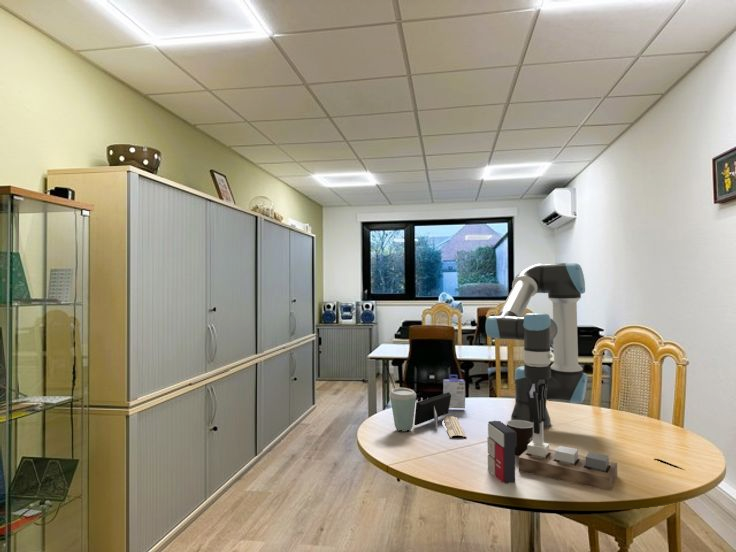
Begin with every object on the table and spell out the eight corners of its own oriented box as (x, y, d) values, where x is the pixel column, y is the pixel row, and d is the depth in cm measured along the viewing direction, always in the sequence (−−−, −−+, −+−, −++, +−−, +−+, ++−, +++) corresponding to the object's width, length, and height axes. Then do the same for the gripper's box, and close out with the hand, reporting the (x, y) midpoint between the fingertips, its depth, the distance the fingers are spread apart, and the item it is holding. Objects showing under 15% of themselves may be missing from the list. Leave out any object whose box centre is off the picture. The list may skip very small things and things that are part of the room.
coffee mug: (521, 461, 142) (520, 429, 142) (501, 452, 150) (500, 422, 150) (546, 454, 147) (546, 424, 147) (526, 446, 155) (526, 417, 155)
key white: (527, 461, 134) (527, 444, 135) (532, 456, 138) (532, 440, 138) (544, 465, 131) (544, 448, 131) (549, 460, 135) (549, 443, 135)
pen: (694, 480, 128) (694, 474, 128) (649, 462, 141) (649, 456, 141) (698, 479, 129) (698, 474, 129) (653, 461, 142) (653, 456, 142)
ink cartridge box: (464, 405, 207) (464, 374, 208) (465, 409, 202) (465, 376, 202) (443, 405, 209) (442, 373, 209) (443, 408, 203) (443, 376, 203)
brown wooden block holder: (518, 474, 132) (518, 457, 133) (531, 461, 142) (531, 445, 142) (610, 496, 118) (609, 477, 118) (617, 480, 128) (617, 463, 128)
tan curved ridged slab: (466, 440, 164) (466, 435, 164) (447, 440, 164) (446, 435, 164) (457, 420, 187) (457, 416, 187) (440, 420, 188) (440, 416, 188)
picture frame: (448, 414, 195) (426, 407, 199) (452, 392, 194) (430, 386, 198) (436, 432, 175) (412, 424, 179) (440, 408, 174) (416, 401, 178)
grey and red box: (486, 471, 135) (485, 421, 135) (499, 470, 135) (499, 420, 136) (502, 487, 124) (502, 433, 124) (517, 486, 124) (516, 432, 125)
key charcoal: (585, 475, 125) (585, 457, 125) (589, 469, 129) (589, 451, 129) (605, 479, 122) (605, 461, 122) (609, 473, 126) (608, 455, 126)
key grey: (555, 468, 130) (555, 450, 130) (560, 462, 134) (559, 445, 134) (574, 472, 127) (573, 454, 127) (578, 466, 131) (578, 449, 131)
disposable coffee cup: (422, 428, 175) (422, 389, 176) (406, 435, 167) (406, 394, 167) (400, 422, 182) (400, 385, 182) (383, 429, 174) (383, 390, 174)
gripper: (543, 369, 128) (544, 452, 127) (556, 362, 138) (557, 439, 138) (517, 366, 133) (518, 446, 132) (531, 360, 143) (532, 435, 142)
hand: (538, 443), depth 135 cm, fingers closed
